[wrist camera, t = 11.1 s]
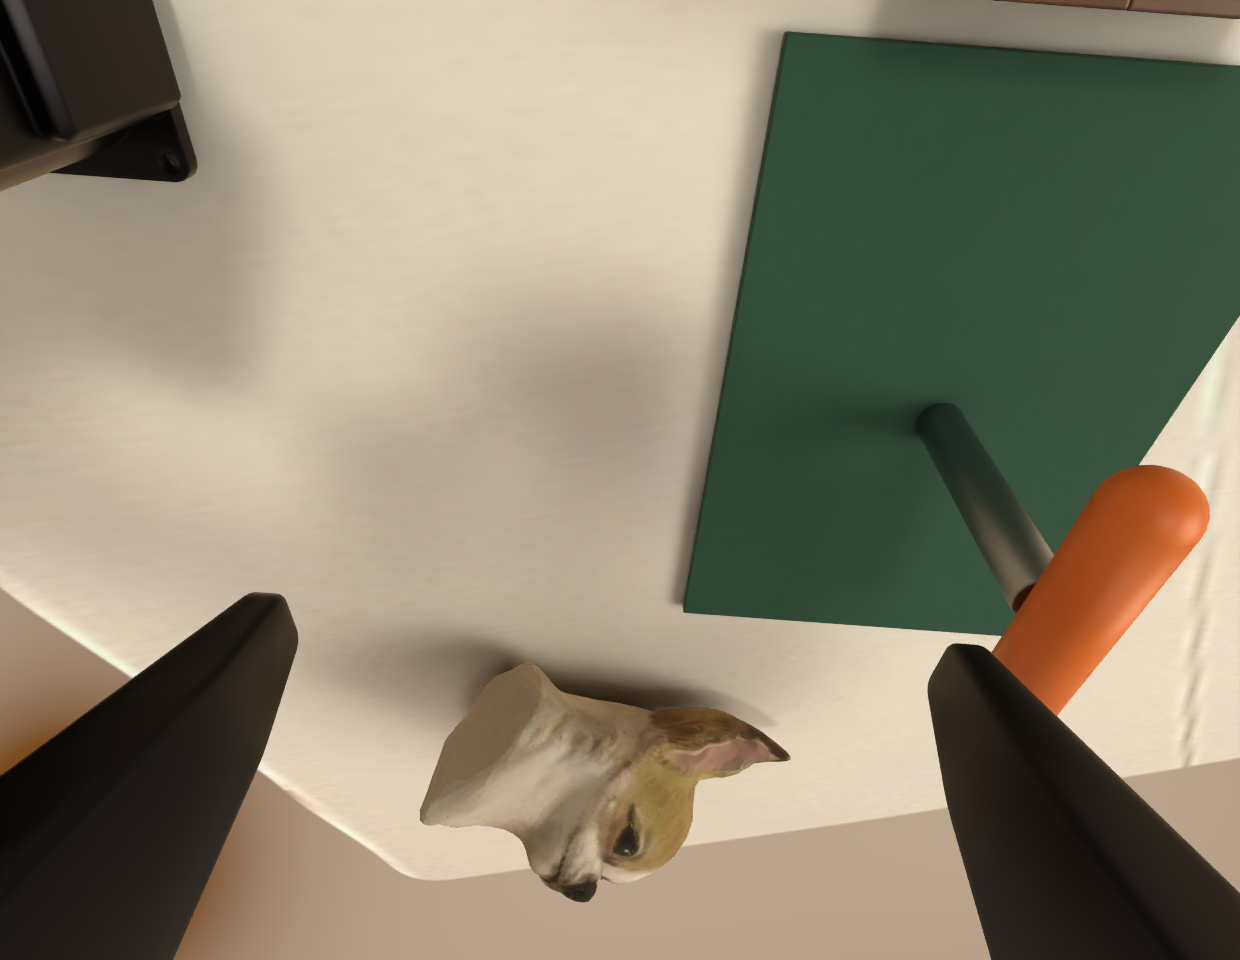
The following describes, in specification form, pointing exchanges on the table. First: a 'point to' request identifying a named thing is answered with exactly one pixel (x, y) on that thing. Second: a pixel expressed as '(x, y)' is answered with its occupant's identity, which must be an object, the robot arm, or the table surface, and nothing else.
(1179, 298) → the cutting mat
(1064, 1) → the rack
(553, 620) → the table surface
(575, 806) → the ceramic sculpture
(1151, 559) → the t handle
